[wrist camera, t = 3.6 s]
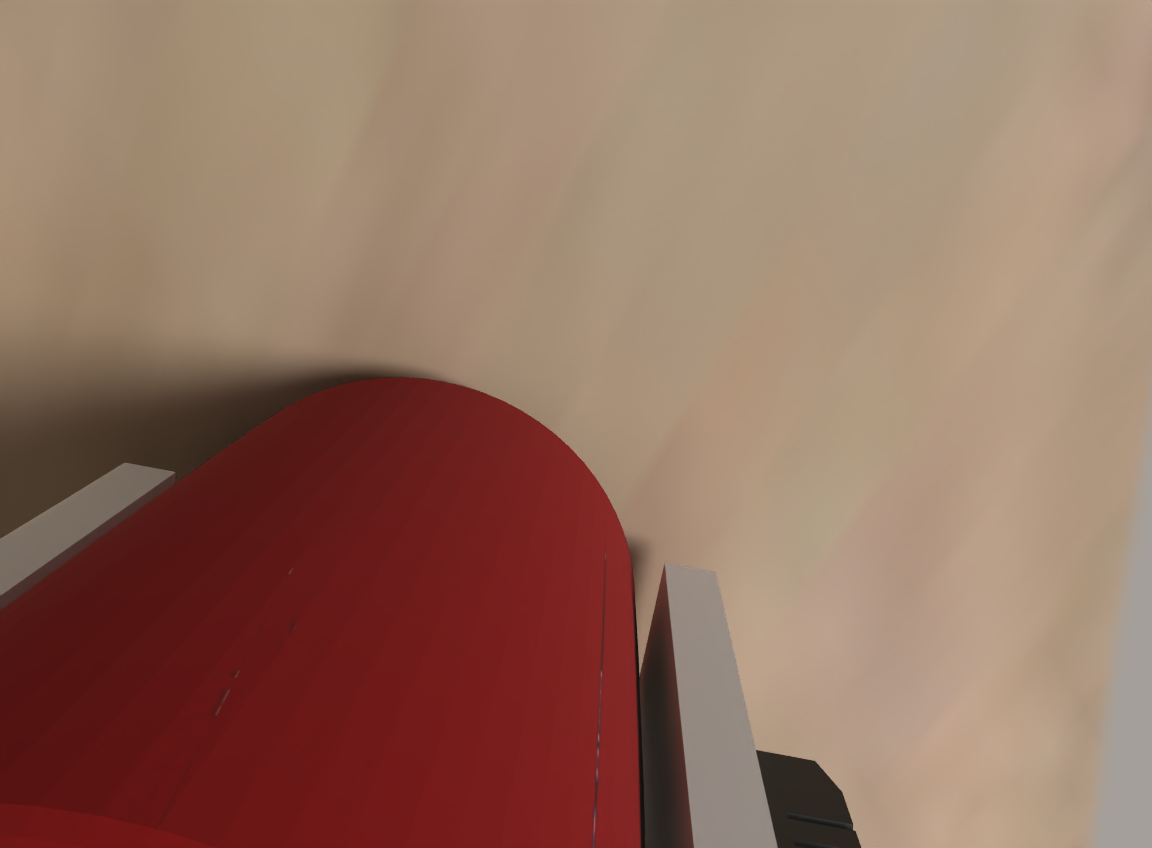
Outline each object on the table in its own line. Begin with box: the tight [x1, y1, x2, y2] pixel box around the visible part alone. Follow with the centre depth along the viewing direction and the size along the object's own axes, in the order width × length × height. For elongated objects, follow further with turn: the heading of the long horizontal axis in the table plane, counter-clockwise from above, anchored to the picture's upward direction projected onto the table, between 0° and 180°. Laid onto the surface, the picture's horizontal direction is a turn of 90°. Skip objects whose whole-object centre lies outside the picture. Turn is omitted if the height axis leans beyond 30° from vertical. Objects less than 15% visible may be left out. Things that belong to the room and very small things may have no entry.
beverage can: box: [0, 377, 646, 848], centre depth 10 cm, size 7×7×12 cm
